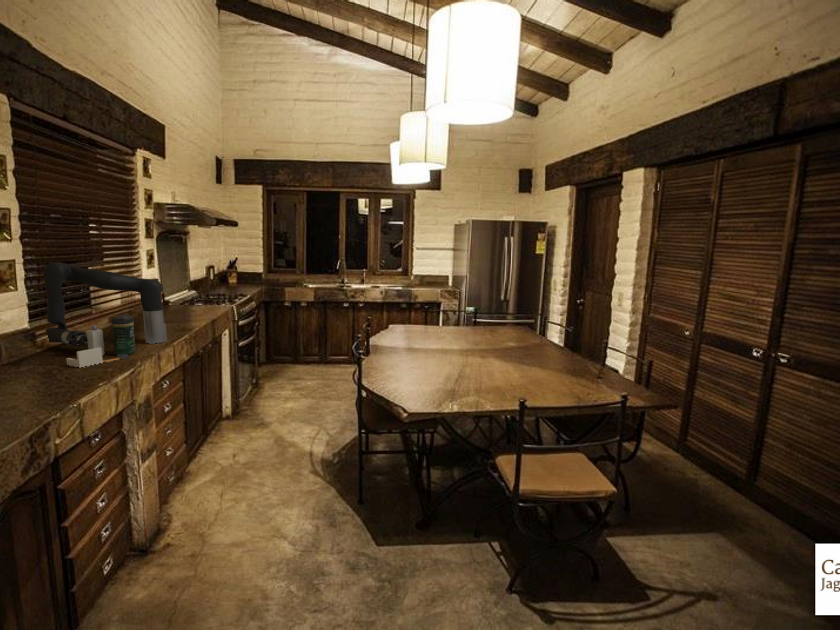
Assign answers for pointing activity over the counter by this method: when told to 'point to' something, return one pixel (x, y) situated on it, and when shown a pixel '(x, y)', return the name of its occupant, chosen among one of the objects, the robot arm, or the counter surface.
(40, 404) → the counter surface
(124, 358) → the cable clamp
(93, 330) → the white square bottle
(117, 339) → the coffee jar
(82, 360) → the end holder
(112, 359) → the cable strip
